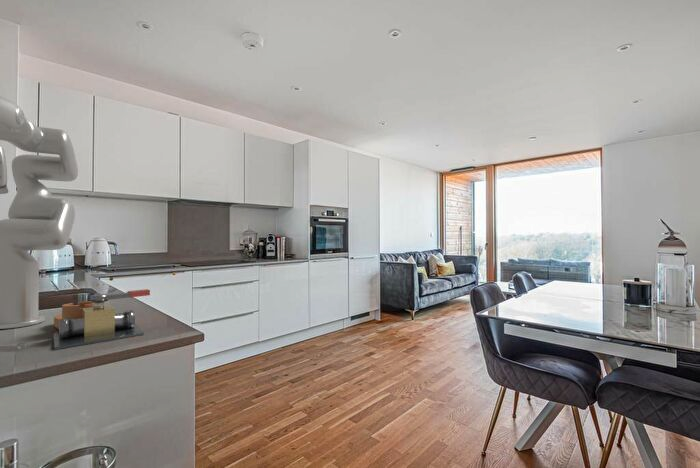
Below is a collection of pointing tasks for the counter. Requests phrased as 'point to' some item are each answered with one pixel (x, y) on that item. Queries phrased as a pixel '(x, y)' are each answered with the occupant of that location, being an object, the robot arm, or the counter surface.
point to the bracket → (72, 311)
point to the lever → (119, 295)
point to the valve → (96, 327)
